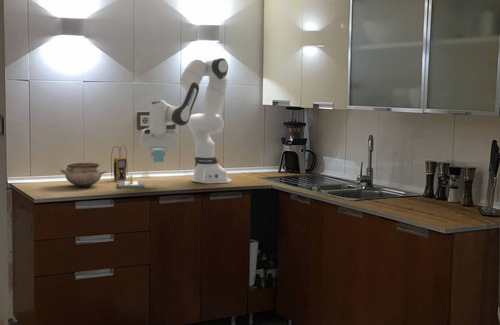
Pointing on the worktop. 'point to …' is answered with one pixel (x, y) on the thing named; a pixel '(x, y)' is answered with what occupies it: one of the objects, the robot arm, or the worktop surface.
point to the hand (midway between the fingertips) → (158, 155)
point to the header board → (131, 184)
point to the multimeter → (119, 167)
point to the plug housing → (158, 155)
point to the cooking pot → (83, 173)
